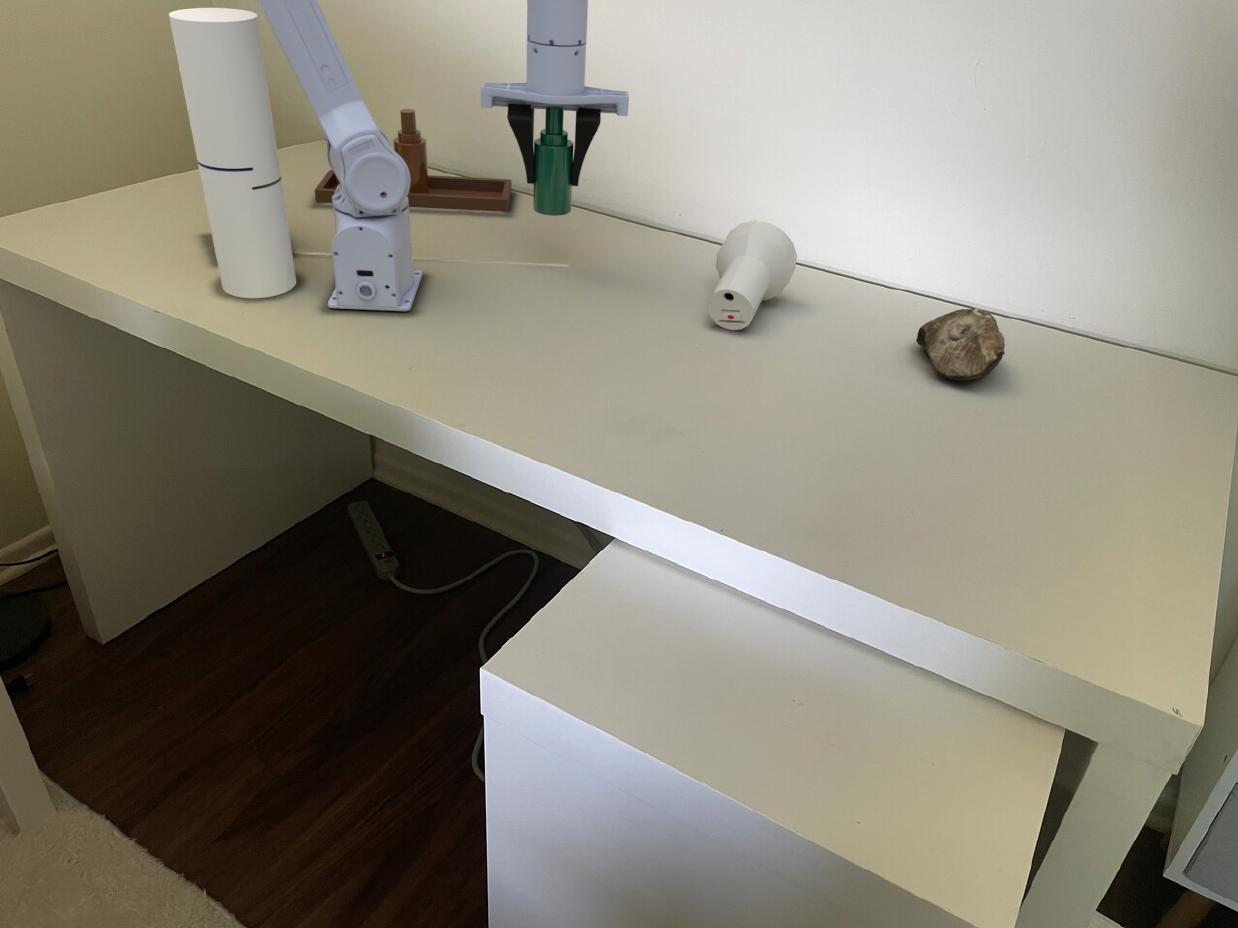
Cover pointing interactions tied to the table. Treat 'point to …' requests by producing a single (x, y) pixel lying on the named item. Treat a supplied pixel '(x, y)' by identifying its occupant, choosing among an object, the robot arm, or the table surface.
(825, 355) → the table surface
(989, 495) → the table surface
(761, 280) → the spotlight
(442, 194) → the tray
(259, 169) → the cylindrical container
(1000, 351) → the fossilized seashell
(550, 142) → the green bottle
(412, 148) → the brown bottle
